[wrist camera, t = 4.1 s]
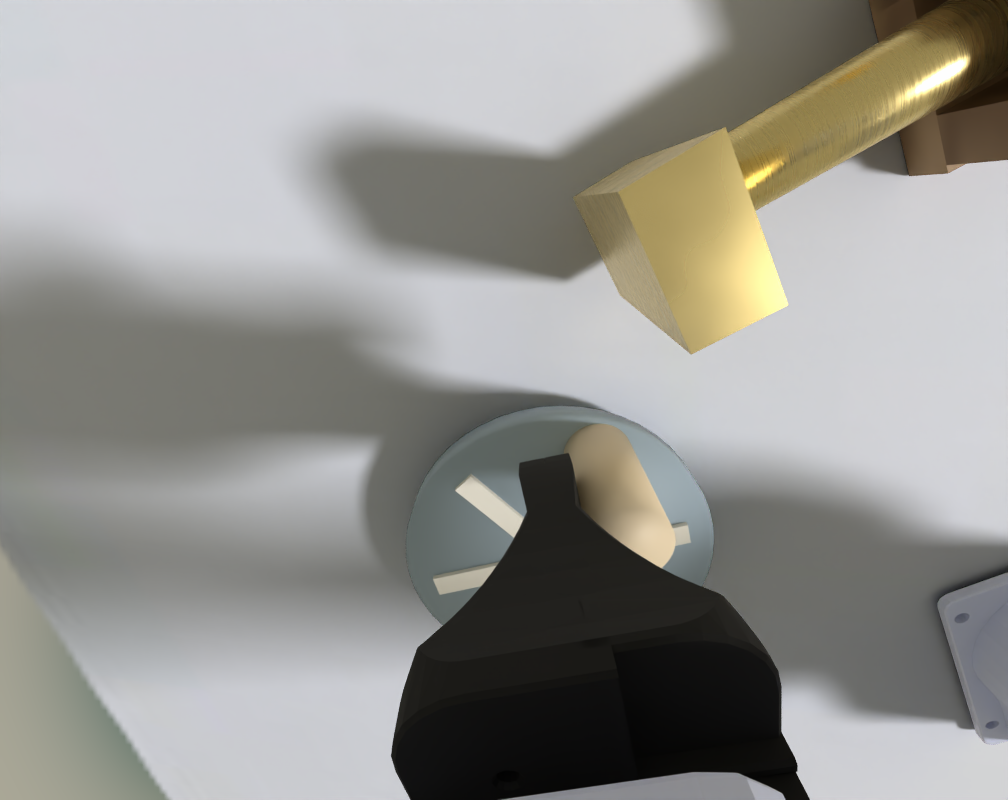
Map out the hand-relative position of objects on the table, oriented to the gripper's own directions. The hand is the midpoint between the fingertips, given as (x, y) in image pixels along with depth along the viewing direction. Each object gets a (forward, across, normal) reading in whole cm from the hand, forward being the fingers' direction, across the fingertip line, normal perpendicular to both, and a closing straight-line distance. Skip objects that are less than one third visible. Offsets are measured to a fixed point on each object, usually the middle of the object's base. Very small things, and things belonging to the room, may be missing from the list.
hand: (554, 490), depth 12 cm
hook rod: (+3, -9, -7) cm, 12 cm away
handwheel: (+4, 0, +4) cm, 6 cm away
